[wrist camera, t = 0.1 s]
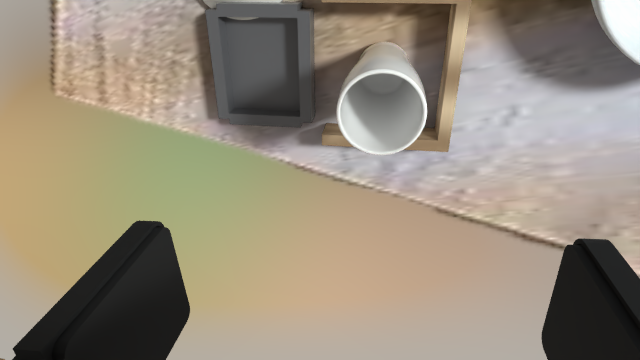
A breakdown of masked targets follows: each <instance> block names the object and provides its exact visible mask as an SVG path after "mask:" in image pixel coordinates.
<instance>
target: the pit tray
mask: <svg viewBox="0 0 640 360" xmlns="http://www.w3.org/2000/svg"><path fill="white" fill-rule="evenodd" d="M216 7H217V8H211V9H207V10H205V12H206V20H207V28H208V36H209V44H210V52H211V60H212V68H213V76H214V84H215V92H216V100H217V108H218V116H219V118H221V119H229V121H230V124H239V125H260V126H280V127H301V126H302V124H303V122H304V123H311V122H312V120H313V118H314V116H315V80H314V8H302V2H220V3H217V4H216ZM228 17H259V18H256V19H251V20H236V19H232V18H228Z"/></svg>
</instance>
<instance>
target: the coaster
mask: <svg viewBox="0 0 640 360" xmlns="http://www.w3.org/2000/svg"><path fill="white" fill-rule="evenodd" d="M282 1H283V0H203V2H204V3H205V4H207V5H208V6H209V7H210V8H217V7H216V4H217V3H220V2H282ZM228 18H232V19H236V20H251V19H256V18H259V17H228Z"/></svg>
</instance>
